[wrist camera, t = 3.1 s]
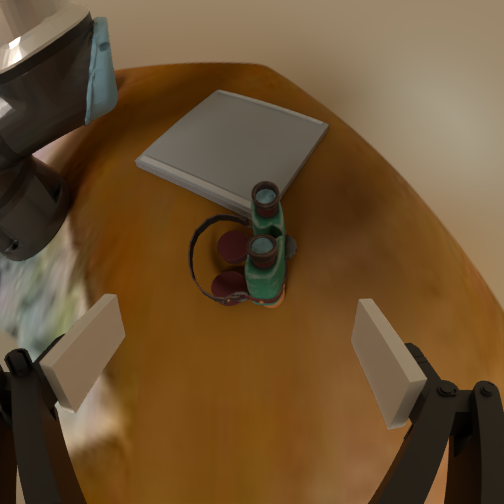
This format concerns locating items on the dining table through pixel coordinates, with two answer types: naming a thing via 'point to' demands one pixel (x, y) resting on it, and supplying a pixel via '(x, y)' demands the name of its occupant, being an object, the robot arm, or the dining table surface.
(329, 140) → the dining table surface
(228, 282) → the binoculars
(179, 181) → the slate board
